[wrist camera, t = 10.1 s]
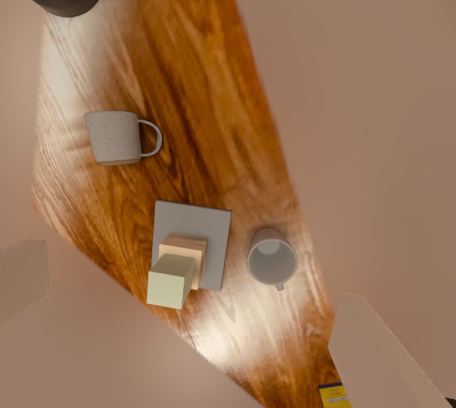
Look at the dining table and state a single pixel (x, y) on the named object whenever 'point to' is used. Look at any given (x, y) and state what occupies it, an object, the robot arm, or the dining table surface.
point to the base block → (187, 252)
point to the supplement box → (334, 396)
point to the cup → (271, 258)
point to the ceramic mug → (117, 137)
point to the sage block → (170, 281)
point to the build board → (195, 234)
